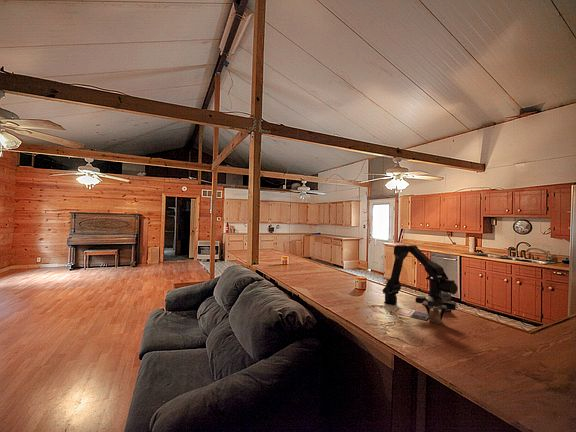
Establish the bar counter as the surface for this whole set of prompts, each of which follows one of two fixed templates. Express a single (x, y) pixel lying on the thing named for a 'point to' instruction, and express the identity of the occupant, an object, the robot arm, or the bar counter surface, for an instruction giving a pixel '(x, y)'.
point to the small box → (446, 298)
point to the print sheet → (403, 311)
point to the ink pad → (420, 315)
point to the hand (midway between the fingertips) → (435, 318)
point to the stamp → (435, 315)
